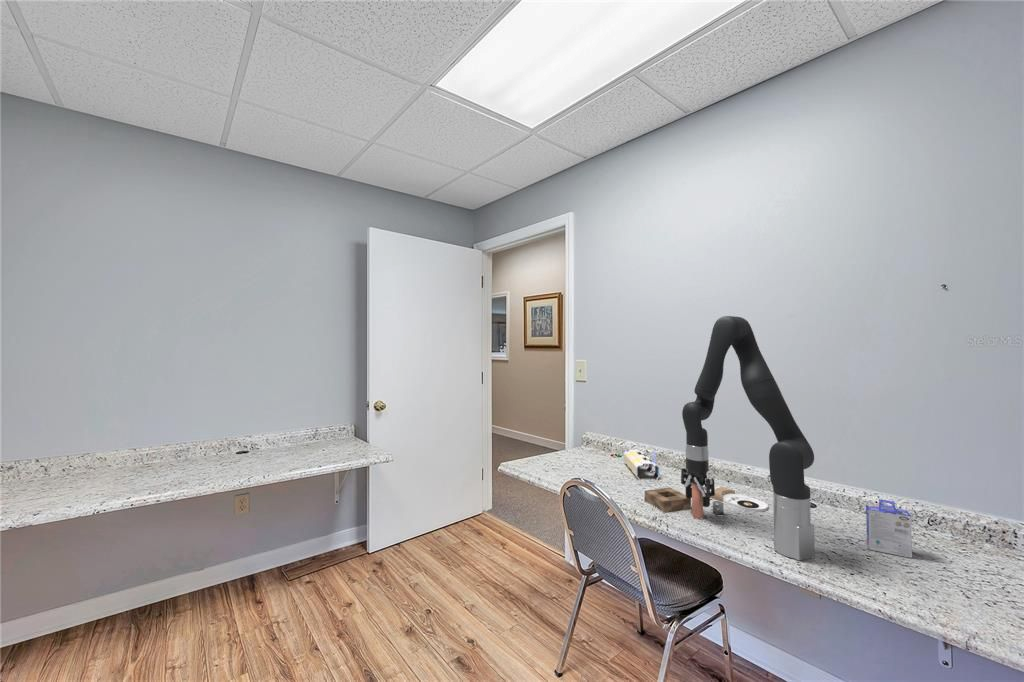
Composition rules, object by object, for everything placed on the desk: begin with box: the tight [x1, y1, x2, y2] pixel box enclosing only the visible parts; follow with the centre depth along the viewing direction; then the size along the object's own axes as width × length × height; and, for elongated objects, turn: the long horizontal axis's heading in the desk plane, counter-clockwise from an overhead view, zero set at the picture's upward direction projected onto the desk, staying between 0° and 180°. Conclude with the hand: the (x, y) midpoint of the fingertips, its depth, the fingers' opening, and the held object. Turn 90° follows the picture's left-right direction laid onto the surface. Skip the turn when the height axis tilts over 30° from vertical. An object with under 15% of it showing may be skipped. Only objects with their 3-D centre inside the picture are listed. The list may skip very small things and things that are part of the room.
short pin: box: [712, 500, 725, 516], centre depth 152 cm, size 4×4×4 cm
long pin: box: [691, 483, 704, 520], centre depth 149 cm, size 4×4×12 cm
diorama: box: [623, 448, 660, 481], centre depth 202 cm, size 25×10×13 cm, turn 178°
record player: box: [710, 485, 769, 513], centre depth 163 cm, size 12×3×20 cm
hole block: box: [644, 487, 692, 513], centre depth 161 cm, size 12×12×4 cm
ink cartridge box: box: [865, 498, 913, 559], centre depth 125 cm, size 10×6×14 cm, turn 58°
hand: (697, 502), depth 150 cm, fingers open, 8 cm apart
